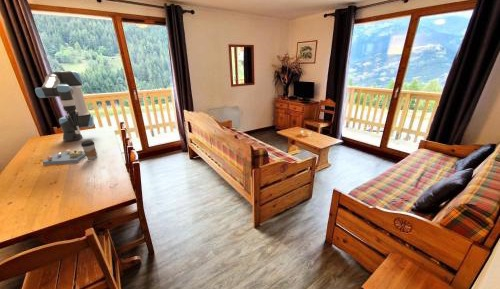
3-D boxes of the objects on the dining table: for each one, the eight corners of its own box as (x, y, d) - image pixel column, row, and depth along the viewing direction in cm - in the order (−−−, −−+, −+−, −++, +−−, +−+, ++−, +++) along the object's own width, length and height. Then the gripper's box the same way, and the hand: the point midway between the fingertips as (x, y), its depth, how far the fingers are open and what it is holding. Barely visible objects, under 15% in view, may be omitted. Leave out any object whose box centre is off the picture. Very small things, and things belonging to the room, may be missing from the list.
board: (58, 155, 175) (57, 152, 174) (89, 153, 179) (89, 150, 178) (43, 164, 160) (42, 161, 159) (78, 162, 163) (77, 159, 162)
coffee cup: (92, 161, 165) (86, 144, 159) (83, 160, 166) (77, 143, 160) (101, 157, 172) (96, 140, 166) (92, 156, 174) (87, 139, 168)
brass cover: (74, 154, 172) (73, 149, 170) (82, 153, 173) (81, 149, 171) (70, 157, 166) (68, 152, 165) (78, 156, 167) (76, 152, 166)
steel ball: (59, 155, 169) (57, 152, 168) (63, 155, 169) (62, 151, 168) (56, 157, 166) (55, 153, 165) (60, 157, 166) (59, 153, 165)
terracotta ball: (49, 159, 163) (48, 155, 162) (54, 159, 163) (52, 155, 162) (46, 161, 160) (45, 157, 159) (51, 160, 161) (49, 157, 159)
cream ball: (68, 152, 175) (66, 149, 174) (72, 152, 175) (71, 148, 174) (65, 154, 172) (64, 150, 171) (69, 153, 172) (68, 150, 171)
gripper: (69, 103, 170) (78, 131, 178) (58, 107, 158) (68, 136, 167) (79, 103, 171) (87, 130, 180) (69, 106, 159) (78, 135, 168)
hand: (78, 133), depth 173 cm, fingers closed
